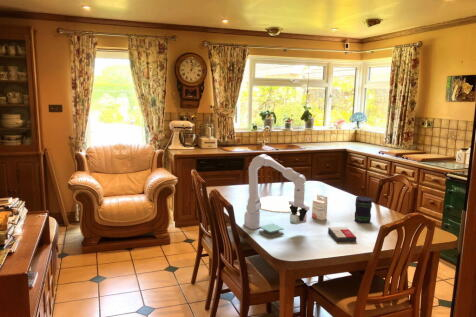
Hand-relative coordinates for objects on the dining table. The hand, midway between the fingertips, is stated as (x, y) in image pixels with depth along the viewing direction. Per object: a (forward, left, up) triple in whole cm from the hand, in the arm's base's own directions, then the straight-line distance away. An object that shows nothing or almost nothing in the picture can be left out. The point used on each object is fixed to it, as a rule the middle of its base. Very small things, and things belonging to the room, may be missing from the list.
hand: (298, 219), depth 220 cm
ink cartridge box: (-14, +31, -9) cm, 35 cm away
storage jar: (+5, +50, -9) cm, 51 cm away
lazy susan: (-52, +30, -9) cm, 61 cm away
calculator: (+18, +17, -9) cm, 26 cm away
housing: (0, 0, -2) cm, 2 cm away
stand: (-8, -13, -8) cm, 17 cm away
